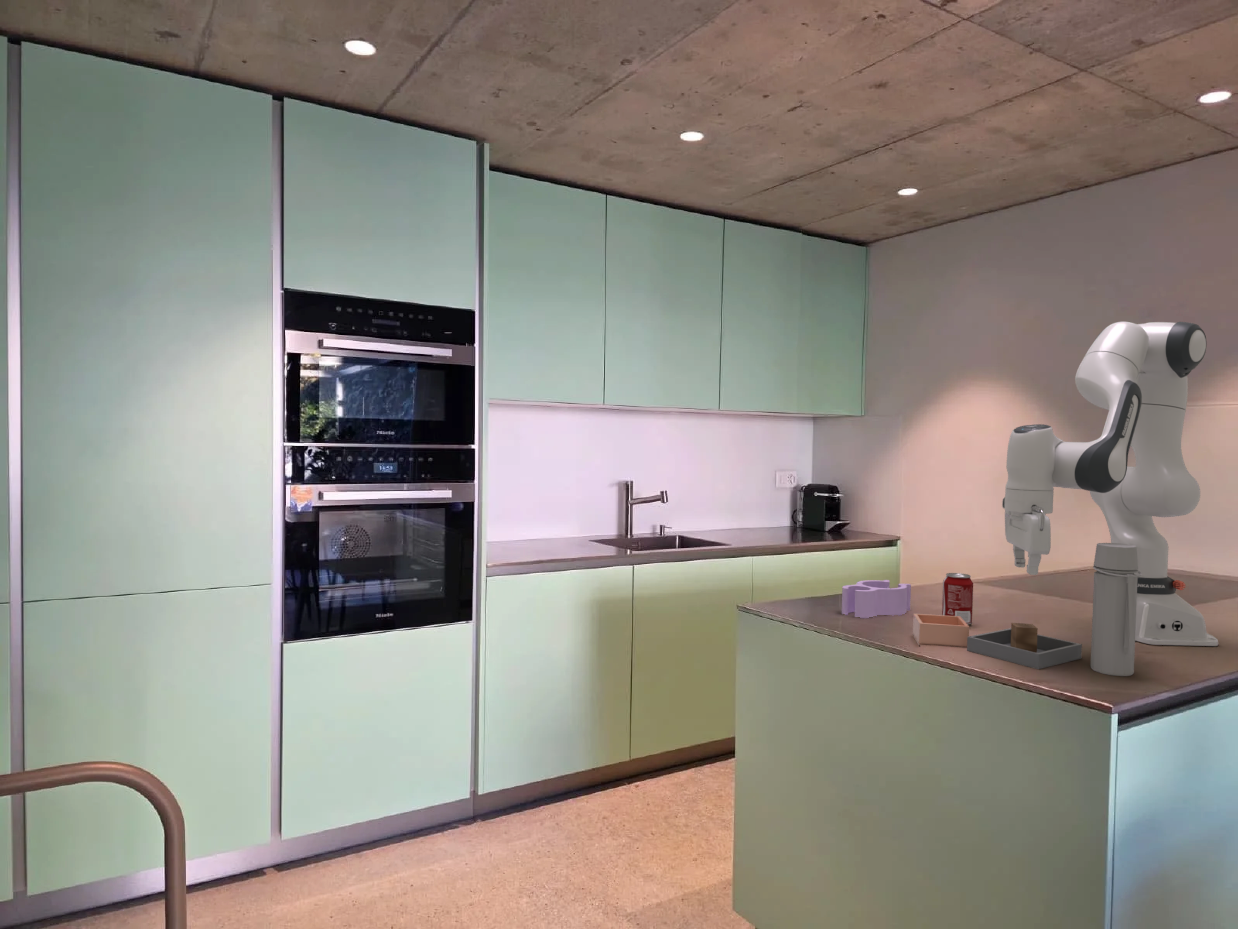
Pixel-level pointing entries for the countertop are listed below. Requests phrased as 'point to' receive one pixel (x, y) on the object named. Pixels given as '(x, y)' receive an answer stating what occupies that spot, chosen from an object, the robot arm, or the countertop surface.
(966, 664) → the countertop surface
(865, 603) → the clip
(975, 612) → the countertop surface
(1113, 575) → the water bottle
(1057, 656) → the tray
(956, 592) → the soda can
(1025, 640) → the block
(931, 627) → the peach open box
